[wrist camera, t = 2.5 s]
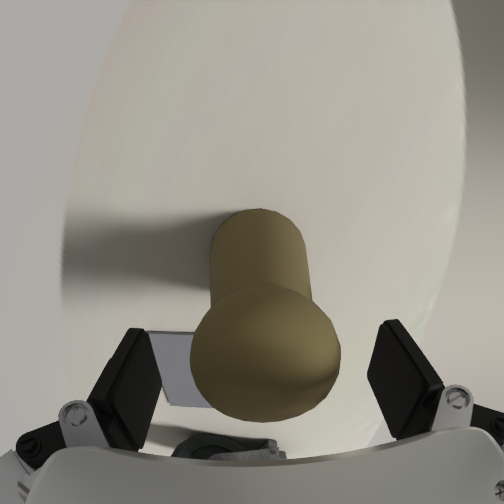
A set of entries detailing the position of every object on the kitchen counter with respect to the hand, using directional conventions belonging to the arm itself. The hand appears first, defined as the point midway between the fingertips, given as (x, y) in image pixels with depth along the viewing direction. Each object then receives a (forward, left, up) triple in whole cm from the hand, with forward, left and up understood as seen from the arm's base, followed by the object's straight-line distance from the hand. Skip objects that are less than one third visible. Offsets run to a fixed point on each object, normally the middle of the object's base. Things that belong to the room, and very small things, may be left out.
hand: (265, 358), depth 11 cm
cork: (-1, 0, -9) cm, 9 cm away
